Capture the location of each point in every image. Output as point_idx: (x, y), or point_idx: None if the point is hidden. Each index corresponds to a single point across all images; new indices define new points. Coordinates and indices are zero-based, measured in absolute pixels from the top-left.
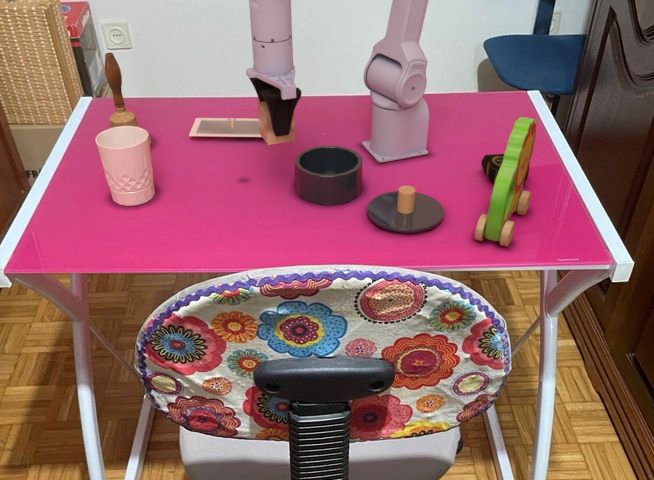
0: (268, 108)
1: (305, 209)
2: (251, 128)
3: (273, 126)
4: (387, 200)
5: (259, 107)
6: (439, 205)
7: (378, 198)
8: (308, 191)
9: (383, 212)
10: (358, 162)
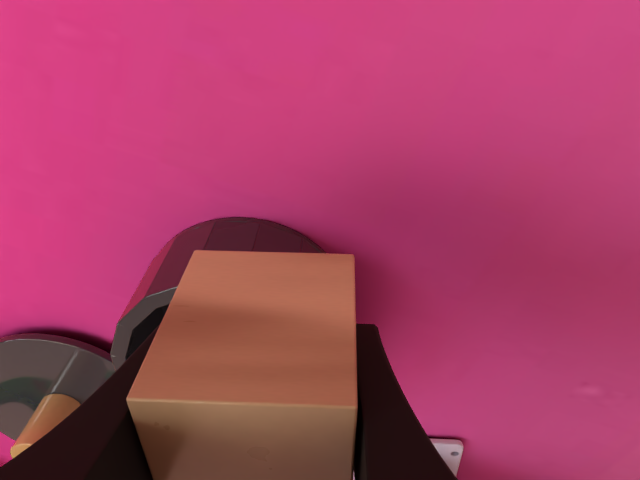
0: (89, 450)
1: (140, 208)
2: None
3: (129, 357)
4: None
5: (303, 388)
6: None
7: None
8: (168, 253)
9: (52, 368)
10: None
